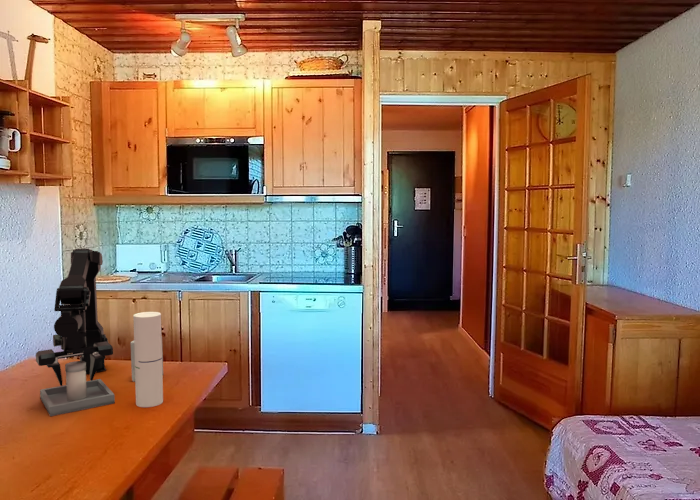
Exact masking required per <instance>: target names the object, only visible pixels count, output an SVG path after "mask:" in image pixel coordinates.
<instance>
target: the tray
mask: <svg viewBox="0 0 700 500" xmlns="http://www.w3.org/2000/svg"><path fill="white" fill-rule="evenodd" d="M86 387H87V397H86V398H85V399H82V400H77V401H68V400H67V386H66V384H64V385H63V384H62V386H60V385H58V386H53V387H46V388H42V389H39V395H40V396H39V397H40V398H39V399H40V400H41V402H42V404H43V406H44V407H45V410H46V411H47V413H48V415H49V417H54V416H60V415H65V414H69V413H74V412H79V411H84V410H88V409H94V408H98V407H102V406H109V405H113V404H115V402H116V401H115V397H116V396H115V393H114V392H113V391H112V390H111V389H110V388H109V386H107V384H106V383H105V382H104V381H103V380H102V379H101V378H99V379H93V380H92V381H91V380H86Z"/></svg>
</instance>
